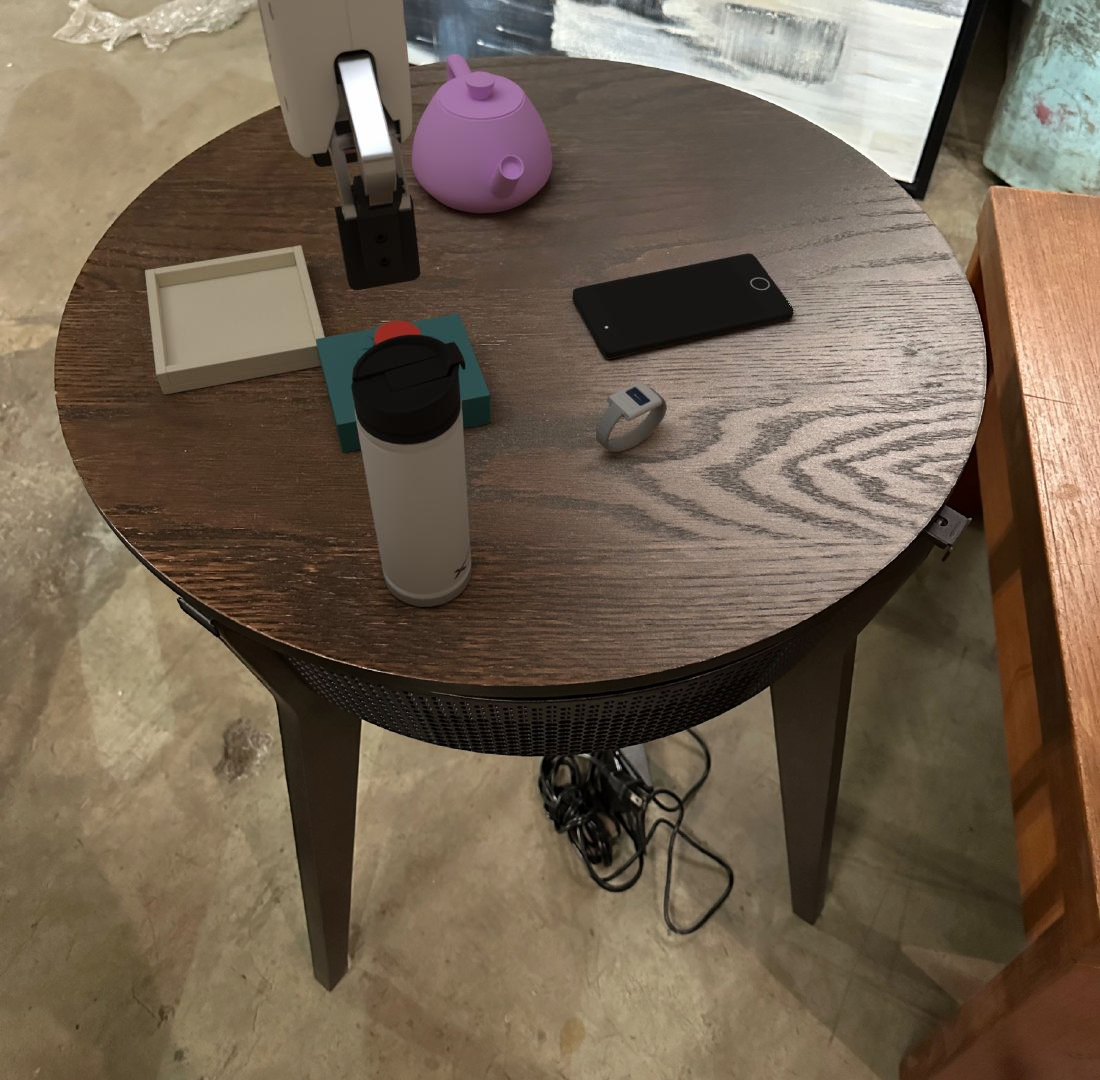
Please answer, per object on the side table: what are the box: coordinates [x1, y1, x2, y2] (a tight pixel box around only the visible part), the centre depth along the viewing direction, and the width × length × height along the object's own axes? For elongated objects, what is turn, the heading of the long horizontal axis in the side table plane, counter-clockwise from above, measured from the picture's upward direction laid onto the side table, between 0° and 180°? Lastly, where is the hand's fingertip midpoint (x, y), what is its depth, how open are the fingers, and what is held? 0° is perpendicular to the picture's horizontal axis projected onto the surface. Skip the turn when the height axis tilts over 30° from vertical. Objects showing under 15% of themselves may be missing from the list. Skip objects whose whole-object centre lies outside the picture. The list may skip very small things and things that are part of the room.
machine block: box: [316, 313, 492, 454], centre depth 82 cm, size 12×10×5 cm
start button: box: [374, 320, 421, 345], centre depth 80 cm, size 4×4×2 cm
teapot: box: [411, 53, 553, 214], centre depth 98 cm, size 14×20×11 cm
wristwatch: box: [595, 380, 668, 453], centre depth 80 cm, size 6×3×5 cm, turn 126°
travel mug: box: [351, 335, 473, 608], centre depth 66 cm, size 6×7×20 cm
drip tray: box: [144, 245, 326, 396], centre depth 88 cm, size 14×14×2 cm
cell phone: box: [572, 252, 795, 360], centre depth 91 cm, size 9×18×1 cm, turn 109°
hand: (364, 217), depth 49 cm, fingers open, 9 cm apart
